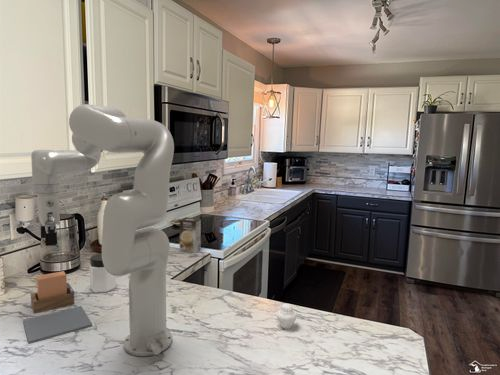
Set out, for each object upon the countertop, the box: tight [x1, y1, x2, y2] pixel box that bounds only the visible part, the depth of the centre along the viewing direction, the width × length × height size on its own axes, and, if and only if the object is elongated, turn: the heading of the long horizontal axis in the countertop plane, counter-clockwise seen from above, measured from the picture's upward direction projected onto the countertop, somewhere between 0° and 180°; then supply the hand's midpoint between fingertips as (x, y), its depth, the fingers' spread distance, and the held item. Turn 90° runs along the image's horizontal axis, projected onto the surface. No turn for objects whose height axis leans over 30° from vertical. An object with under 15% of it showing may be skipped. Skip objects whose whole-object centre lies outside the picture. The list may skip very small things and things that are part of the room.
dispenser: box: [30, 282, 75, 314], centre depth 117 cm, size 8×12×5 cm
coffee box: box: [179, 216, 202, 254], centre depth 176 cm, size 9×6×16 cm
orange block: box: [36, 270, 68, 300], centre depth 116 cm, size 4×8×10 cm, turn 127°
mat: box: [22, 305, 93, 344], centre depth 104 cm, size 14×16×1 cm
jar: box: [88, 253, 117, 294], centre depth 129 cm, size 9×8×12 cm
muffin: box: [275, 303, 298, 330], centre depth 106 cm, size 6×6×7 cm
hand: (48, 241), depth 114 cm, fingers open, 9 cm apart
